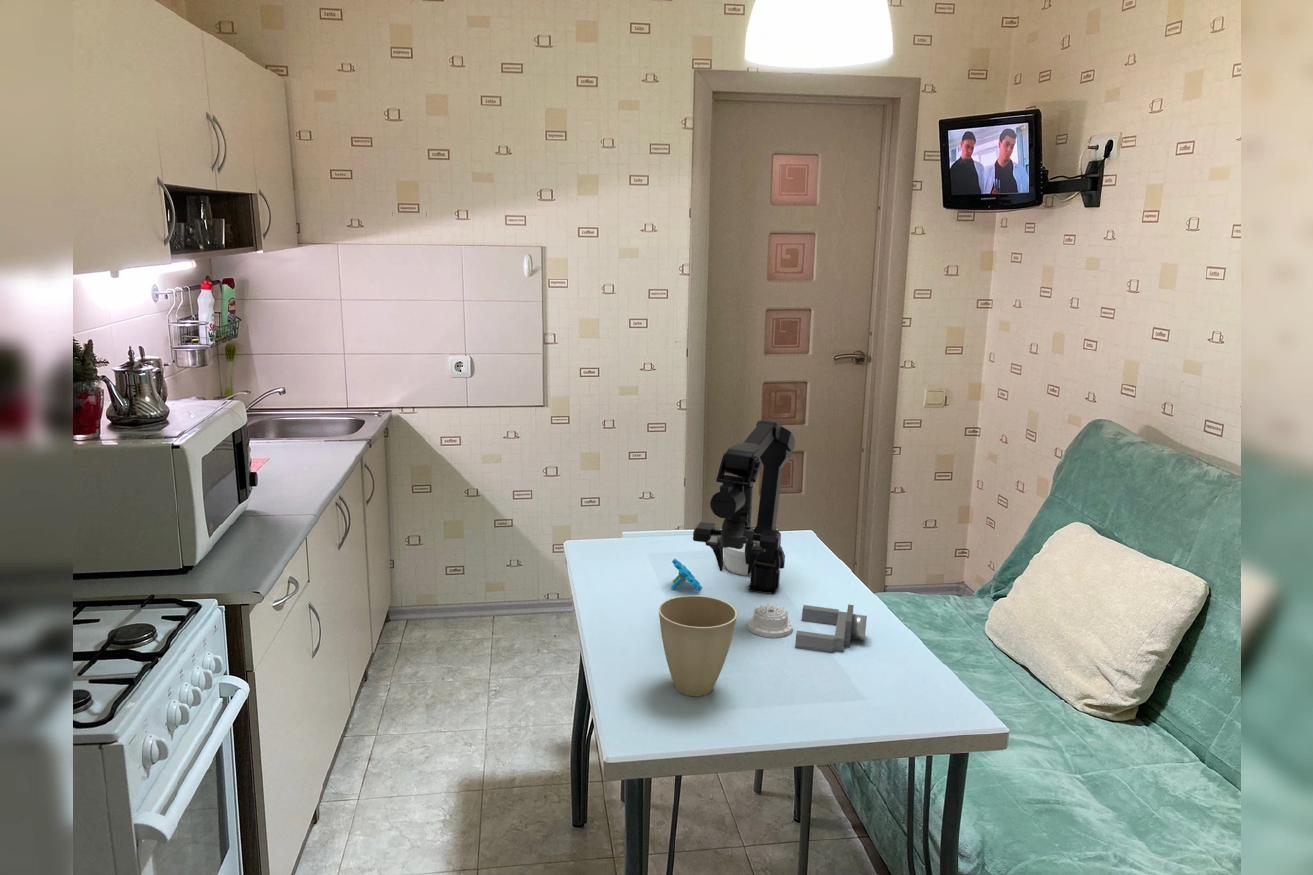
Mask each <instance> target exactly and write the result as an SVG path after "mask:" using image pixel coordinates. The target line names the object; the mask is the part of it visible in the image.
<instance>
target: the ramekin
mask: <svg viewBox="0 0 1313 875" xmlns="http://www.w3.org/2000/svg"><path fill="white" fill-rule="evenodd" d="M745 545H746V544H744V545H743V548H741V549H735V548H730V547H727V548H724V547H723V563H724V565H725V567H726V568H727V569H728V571H729V572H731V573H733V574H737V575H740V576H750V577H751V572H750V575H748V565H749V564H746V560H745Z"/></svg>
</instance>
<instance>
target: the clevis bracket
mask: <svg viewBox="0 0 1313 875" xmlns="http://www.w3.org/2000/svg"><path fill="white" fill-rule="evenodd" d="M801 610H802V612H801V621H803V622H810V623H817V624H825V625H832V626H835V633H834V635H833V634H826V633H817V632H813V631H812V632H811V631H803V630H796V632H795V646H794V648H796V649H803V650H810V651H816V652H817V651H818V652H823V653H824V652H825V653H826V652H827V653H834V652H841V653H843V652H844V648H850V646H851V639H854V640H862V641H865V639H866V627H867V620H868V619H867V617H868V616H867V615H864V614H855V613H854V604H847V611H840V609H838V608H830V607H824V606H823V607H822V606H814V605H809V604H803V605H802V609H801Z"/></svg>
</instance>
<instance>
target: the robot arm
mask: <svg viewBox="0 0 1313 875" xmlns="http://www.w3.org/2000/svg"><path fill="white" fill-rule="evenodd" d="M795 444H796V440H795V436H794V435H793V433H792V431H791V430H789V429H787V428H786V427H783V426H782V425H781V423H780V422H778V421H775V420H767V419H761V420H757V422H756V425H755V427H754V428H753V429H752V431H751V432H750V434H749V435H747V437H746V438H745V439H744V440H743V442H742V443H737V444H733V445H731V446H730V447H729V448H727V449H726V451H725V452H724V453H723V455H722V458H721V461H720V466H719V469H718V472H717V475H716V479H715V480H716V481H715V482H716V483H722V484H721V485H720V486H719V491H717V492H715V494H713V495H712V497H711V499H710V502H709V505H710V509H711V511H712V513H713V514H714V515H715V516H717V517H718V518H720V519H723V522H722V525H721V528H716V523H712V522H703V521H700V522H698V523H697V525H696V526H695V527H694V529H693V534H692V535H693V536H692V541H694V542H698V543H705V546H707V547H710V549H711V550H712V551H713V553H714V556H715V560H716V562H717V566H718V569H719V572H723V569H724V549H723V547H724V548H727V547H730V548H735V549H741V548H743V545H744V544H746V545H745V560H746V564H749V565H748V575H750V572H751V576H750V584H749V586H748V591H750V592H758V593H764V594H770V595H771V594H772V595H775V594H776V593H777V592H776V591H777V590H778V589H779V587H780V577H781V570H782V569H785V563H786V560H785V559H786V555H785V553H784V550H783V549H784V548H783V547H782V546H781V544H782V543H781V542H782V533H781V532H780V531H779V530H778V528H777V520H778V510H779V503H780V501H779V500H780V494H781V486H782V484H781V483H782V476H783V469H784V466H785V465H786V464H787V462H788V461H789V460H790V459H791V458H792V452H793V451H794V448H795ZM762 465H763V468H762ZM761 468H762V470H763V471H762V477H761V487H760V494H759V502H758V509H757V510H758V511H757V520H756V525H755V527H753V526H751V525H752V510H753V509H752V508H753V493H754V483H756V482H757V480H758V477H759V473H760V472H761V471H760V470H761Z"/></svg>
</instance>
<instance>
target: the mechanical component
mask: <svg viewBox="0 0 1313 875" xmlns="http://www.w3.org/2000/svg"><path fill="white" fill-rule="evenodd" d="M793 626H794V625H793V622H792V621H791V620H790V619H789V611H787V610H785V608H784V607H780V606H778V605H774V604H766V605H761V604H760V605H759V606H758V607H755V608H754V610H753V615H752V616H751V617H750V618H748V619H747V629H748V630H749V631H750V632H751V633H753V634H754V635H757V636H759V637H760V636H761V637H763V638H770V639H771V638H773V639H775V638H776V639H778V638H779V639H780V638H783V637H784V638H785V637H787V636H790V634H791V633H792V632H793V630H794V627H793Z"/></svg>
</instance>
